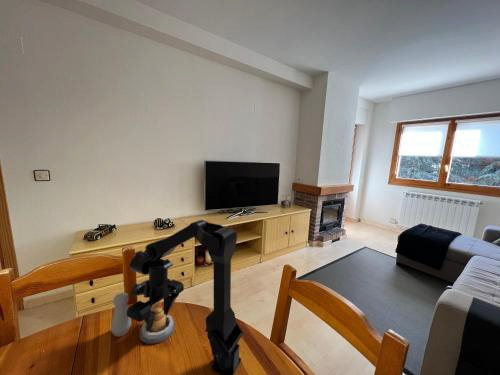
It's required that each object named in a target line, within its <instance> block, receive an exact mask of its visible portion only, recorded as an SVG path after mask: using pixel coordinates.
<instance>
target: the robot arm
mask: <svg viewBox="0 0 500 375" xmlns="http://www.w3.org/2000/svg"><path fill="white" fill-rule="evenodd" d="M194 238H195V239H196V240H197V242H199V244H200V245H202V246H204V247H206V248H207V253H208V256H209V257H210V258H211V261H212V262H213V274H212V275H213V310H212V311H211V312H210V313H209V314H208V315H207V316H206V318H205V327H206V328H205V330H204V332H205V333H206V336H207V339H208V341H209V345H210V348H211V349H210V350H211V353H212V354H213V358H212V360H213V364H212V365H211V371H214V372H215V373H217V374H220V375H235V373H236V371H237V370H238V368H239V366H240V364H241V362H242V358H241V357H240V344H238V343H239V342H240V340H241V339H242V336H244V331H243V330H242V328H241V326H240V325H239V324H238V323H237V320H236V313H235V312H234V310H233V309H232V307H231V297H232V296H231V294H232V290H231V289H232V288H231V285H232V284H231V283H232V281H231V280H232V279H231V278H232V276H231V275H232V274H231V273H232V258H233V255H234V253H235V250H236V245H237V241H238V236H237V232H236V231H235V230H234V229H233V228H231V227H230V226H224V225H221V224H217V223H213V222H209V221H206V220H204V219H203V220H202V219H200V220H199V219H198V220H196V221H194V222H191V223H190V224H189V225H187V226H186V227H184V228H182V229H180V230H179V231H176V232H175V233H173V234H172V235H170V236H168V237H164V238H161V239H158V240H155V241H153V242H150V243H148V244H146V245H145V247H144V248H145V250H144V251H142V250H139V251H136V252H135V253H134V256H133V257H132V259H131V261H130V262H129V265H128V266H129V269H130V270H131V271H133V272H135V273H139V274H141V275H144V276H146V275H148V279H146V280H144V281H142V282H140V283H138V284H137V283H136V284H133V285H132V286H131V295H132V297H135V296H138V297H139V296H142V295H143V297H144V298H146V299H148V300H147V301H145V302H143V301H141V300H138V301H136V302H135V303H133V304H132V305H130V306H129V307H128V309H127V316H128V317H130V319H131V320H132V319H133V320H134V321H136V322H138V323H140V322H143V321H144V322H146V324H147V326H148V328H149V329H151V328H152V325H153V320H154V316H155V312H153V307H154V306H155V305H157V304H158V303H159V302H161V301H162V300H163V309H164V313H165V314H166V316H167V315H169V313H170V311H171V309H172V307H173V306H174V303H175V302H176V300H177V298H178V297H179V294H181V293H182V292H183V291H184V290H185V288H184V287H185V285H184V283H183V282H182V281H179V280H176V279H170V278H168V277H169V276H168V275H169V268H171V267H173V266H174V264H173V262H172V261H170V260H169V258H166V259H163V258H164V257H167V256H169V255H170V254H172V253H173V252H174V251H175V250H176V248H177V247H179V246H181V245H182V244H185V243H186V242H187V241H189V240H192V239H194Z"/></svg>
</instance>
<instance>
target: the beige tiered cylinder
mask: <svg viewBox="0 0 500 375" xmlns="http://www.w3.org/2000/svg"><path fill="white" fill-rule="evenodd" d="M152 311H153V312H155V316H154V320H153V325H152V328H151V329H150V331H151V332H152V333H156V332H160V331H162V330H164V329H165V326H166V314H165V313H164V307H162V306H155V308H154V309H152Z"/></svg>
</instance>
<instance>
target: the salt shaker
mask: <svg viewBox="0 0 500 375" xmlns="http://www.w3.org/2000/svg"><path fill="white" fill-rule="evenodd" d="M127 302H129V294H128V293H126V292H120V293H117V294H116V295H114V297H113V299H112V303H113V306H114V312H113V315H112V320H111V327H110V331H111V333H112V334H113V336H115V337H117V338H121V337H123V336H125V335H126V334H127V333H128V332H129V331H130V328H131V326H132V318H130V317H128V316H127V309H128V308H129V307H128V303H127Z"/></svg>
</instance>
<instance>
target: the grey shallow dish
mask: <svg viewBox="0 0 500 375" xmlns="http://www.w3.org/2000/svg"><path fill="white" fill-rule="evenodd" d="M175 329H176V322H175V320H174V319H173V317H172V316H171V315H169V314H168V315H167V316H166V326H165V329H164V330H162V331H160V332H156V333H152V332H151V331H150V329H149V328H148V326H147V324H146V322H145V321H144V322H143V324H142V326H141V328H140V329H139V339H140V340H141V342H143V344H147V345H155V344H156V345H157V344H160V343H162V342H165V341H167V340H169V338H171V337H172V335H173V334H174V332H175Z"/></svg>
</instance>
